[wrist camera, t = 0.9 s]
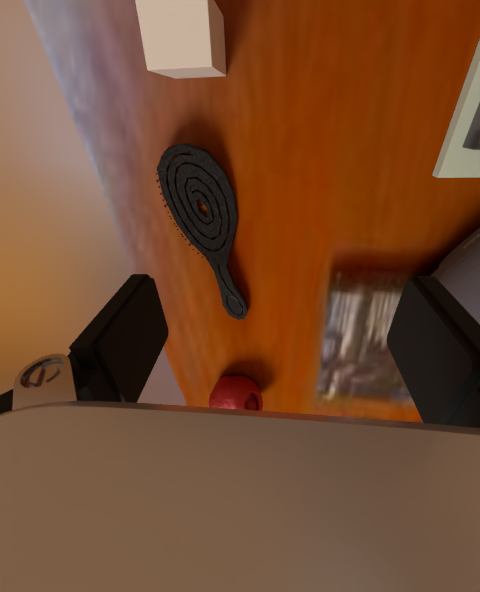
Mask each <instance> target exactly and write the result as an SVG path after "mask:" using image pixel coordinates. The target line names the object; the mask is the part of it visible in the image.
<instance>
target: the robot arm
mask: <svg viewBox="0 0 480 592" xmlns="http://www.w3.org/2000/svg"><path fill="white" fill-rule="evenodd" d="M167 337H168V327H167V323H166V320H165V316H164V313H163V309H162V305H161V302H160V298H159V295H158V291H157V288H156V284H155V281H154V279H153V278H150V276H149V275H147V274H133V275H131V276H130V278H129V279H128V280H127V281H126V282H125V283H124V284H123V286H122V287H121V288H120V289H119V290H118V292H117V293H116V294H115V295H114V296H113V297H112V298H111V299H110V301H109V302H108V303H107V304H106V305H105V306H104V308H103V309H102V310H101V311H100V312H99V313H98V315H97V316H96V317H95V318H94V319H93V320H92V321H91V323H90V324H89V325H88V326H87V327H86V328H85V329H84V331H83V332H82V333H81V334H80V335H79V337H78V338H77V339H76V340H75V341H74V342H73V343H72V345H71V346H70V347H69V348H70V350H71V352H70V354H69V355H68V356H66V355H64V354H50V355H47V356H44V357H41V358H39V359H37V360H35V361H33V362H32V363H30V364H29V365H27V366H26V367H25V368H24V369H23V370H21V371H20V372H19V374H18V375H17V377H16V378H15V381H14V388H13V389H12V390H10V391H8V392H6V393H4V394H1V395H0V592H480V324H479V323H478V322H477V321H476V320H475V319H474V318H473V317H472V316H471V315H470V314H469V313H468V311H467V310H466V309H465V308H464V307H463V306H462V305H461V304H460V303H459V302H458V301H457V300H456V299H455V298H454V296H453V295H452V294H451V293H450V292H449V291H448V290H447V289H446V288H445V287H444V286H443V285H442V284H441V283H440V282H439V280H438V279H437V278H436V277H434V276H414V277H413V278H412V279H411V280H408V281H407V282H406V284H405V286H404V289H403V292H402V295H401V298H400V301H399V304H398V307H397V310H396V312H395V315H394V318H393V321H392V324H391V327H390V330H389V333H388V335H387V345H388V347H389V350H390V352H391V354H392V356H393V358H394V360H395V362H396V365H397V367H398V369H399V371H400V373H401V375H402V377H403V380H404V382H405V384H406V386H407V388H408V390H409V392H410V395H411V397H412V399H413V401H414V403H415V405H416V407H417V410H418V412H419V414H420V416H421V418H422V420H423V422H424V423H418V422H405V421H392V420H379V419H365V418H352V417H339V416H325V415H311V414H297V413H283V412H269V411H254V410H240V409H225V408H210V407H194V406H178V405H162V404H148V403H137V401H138V399H139V396H140V394H141V392H142V390H143V388H144V386H145V384H146V382H147V379H148V377H149V375H150V373H151V371H152V369H153V367H154V365H155V363H156V361H157V358H158V356H159V354H160V352H161V350H162V348H163V346H164V344H165V342H166V340H167Z"/></svg>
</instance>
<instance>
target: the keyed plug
mask: <svg viewBox="0 0 480 592" xmlns="http://www.w3.org/2000/svg"><path fill="white" fill-rule="evenodd" d="M135 1H136V7H137V13H138V18H139V24H140V30H141V35H142V41H143V47H144V53H145V58H146V64H147V70H149V71H152V72H155V73H159V74H162V75H165V76H169V77H172V78H175V79H177V78H197V77H216V76H226V58H225V36H224V17H223V15H222V13H221V11H220V10H219V8H218V6H217V4H216V3H215V1H214V0H135Z"/></svg>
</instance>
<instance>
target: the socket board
mask: <svg viewBox="0 0 480 592" xmlns="http://www.w3.org/2000/svg"><path fill="white" fill-rule="evenodd" d="M432 176H435V177H437V178H456V177H480V40H479V42H478V45H477V48H476V51H475V54H474V57H473V60H472V62H471V65H470V68H469V71H468V74H467V77H466V80H465V82H464V85H463V88H462V91H461V94H460V97H459V100H458V102H457V105H456V108H455V111H454V114H453V117H452V120H451V122H450V125H449V128H448V131H447V134H446V137H445V140H444V143H443V145H442V148H441V151H440V154H439V157H438V160H437V163H436V165H435V168H434V171H433V174H432Z"/></svg>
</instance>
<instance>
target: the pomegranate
mask: <svg viewBox="0 0 480 592" xmlns="http://www.w3.org/2000/svg"><path fill="white" fill-rule="evenodd" d="M209 407H210V408H225V409H240V410H254V411H262V407H263V401H262V396H261V394H260V391H259V388H258V387H257V385H256V384H255V383H254V382H253V381H252V380H250V379H249V378H247V377H245V376H242V375H237V376H224V377H221V378H220V379H219V380H218V382H217V383H216V385H215V387H214V389H213V391H212V393H211V395H210V398H209Z"/></svg>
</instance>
